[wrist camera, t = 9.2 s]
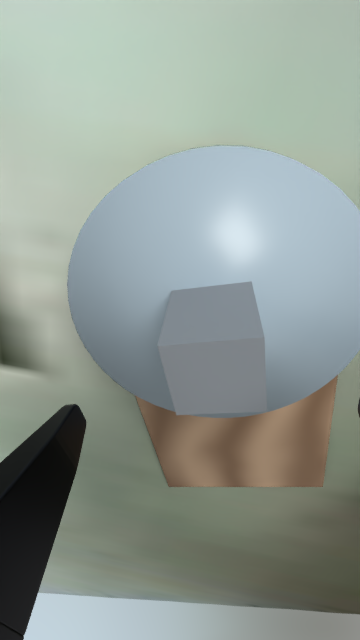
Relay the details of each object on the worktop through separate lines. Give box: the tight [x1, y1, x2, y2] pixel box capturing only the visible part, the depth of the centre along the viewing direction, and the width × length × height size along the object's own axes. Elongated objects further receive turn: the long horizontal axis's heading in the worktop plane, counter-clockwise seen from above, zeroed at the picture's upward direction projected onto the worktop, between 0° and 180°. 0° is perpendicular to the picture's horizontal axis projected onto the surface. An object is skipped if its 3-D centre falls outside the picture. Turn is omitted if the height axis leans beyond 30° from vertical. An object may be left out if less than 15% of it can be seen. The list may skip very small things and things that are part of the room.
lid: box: [67, 145, 360, 418], centre depth 13 cm, size 14×14×5 cm
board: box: [135, 375, 338, 487], centre depth 28 cm, size 16×16×1 cm
